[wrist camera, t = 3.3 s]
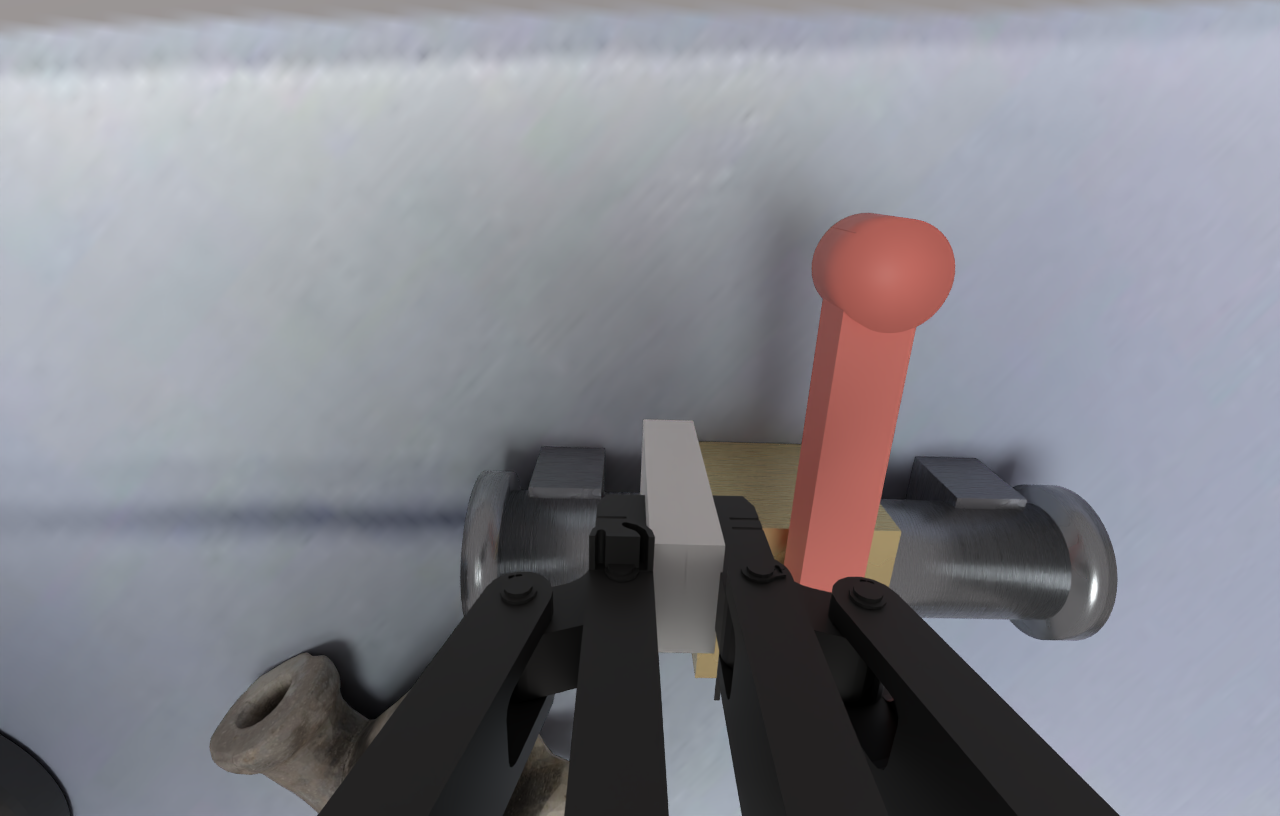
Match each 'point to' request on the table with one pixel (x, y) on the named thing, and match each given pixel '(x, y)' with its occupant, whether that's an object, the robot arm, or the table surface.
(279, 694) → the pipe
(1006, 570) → the valve pipe
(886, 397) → the lever
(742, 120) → the table surface
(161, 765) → the table surface
